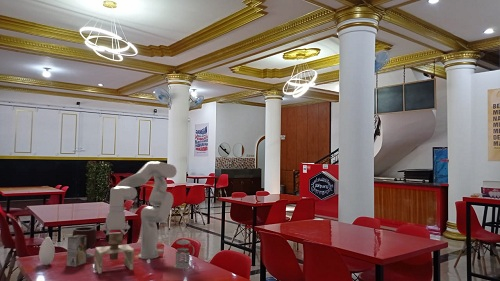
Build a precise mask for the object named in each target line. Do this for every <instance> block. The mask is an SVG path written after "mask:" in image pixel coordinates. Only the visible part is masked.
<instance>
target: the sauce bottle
mask: <svg viewBox="0 0 500 281" xmlns="http://www.w3.org/2000/svg"><path fill="white" fill-rule="evenodd" d="M55 254H56V250H55V245H54V242H53V240H52V239H51V237H50V236H49V233H47V237H45V239H44V240H43V241H42V243H41V245H40V247H39V252H38V258H39V261H40V263H41V264H43V265H44V266H48V265H50V263H53V260H54V257H55Z"/></svg>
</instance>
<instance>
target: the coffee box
mask: <svg viewBox="0 0 500 281" xmlns="http://www.w3.org/2000/svg"><path fill="white" fill-rule="evenodd" d="M86 248H87V235H75V236H72V235H71V236H68V237H67V250H66V253H67V254H66V267H78V266H80V265H83V264H86V263H87V258H86V252H87V250H86Z"/></svg>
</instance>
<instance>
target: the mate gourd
mask: <svg viewBox="0 0 500 281" xmlns="http://www.w3.org/2000/svg"><path fill="white" fill-rule="evenodd" d="M98 226H100V223H98V224H95V225H94V226H82V227H74V228H73V231H72V235H71V236H75V235H87V248H86V259H89V258H93V257H95V253H91V252H87V251H88V250H90V249H92V248H93V247H94V246H95V245H96V242H97V228H96V227H98Z"/></svg>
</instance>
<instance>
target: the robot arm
mask: <svg viewBox="0 0 500 281" xmlns="http://www.w3.org/2000/svg"><path fill="white" fill-rule="evenodd" d="M177 172H178V171H177V167H176V166H175V165H174V164H170V163H166V162H163V161H148V162H146V163H145V164H144V165H143V166H142V167H141V168H140V169H139V170H138V171H137V172H136V173H135V174H132V175H130V176H128V177H126V178H124V179H122V180H121V181H120V182H119V183H117V184H116V185H115V187H111V188H110V193H109V206H108V207H109V208H108V210H109V211H107V213H106V218H105V223H104V224H103V225H102V226H101V227H100V228H99V229H100V230H101V231H102V232H103V234H105V241H106V242H107V243H108V242H109V233H111V231H119V230H120V231H121V233H122V234H123V240H125V234H126V233H127V231H129V229H130V228H131V226H130V225H129V224H128V223H127V222H126V214H125V210H127V207H126V206H124V204H125V200H128V201H131V200H134V199H135V198H136V197H137V196H138V191H137V189H136V187H141V186H143V185H146V184H147V182H149V181H150V179H152V178H153V179H154V185H153V188H152V190H151V193H150V196H149V198H148V202H149V204H150V205H151V206H144V207H143V208H142V209H141V211H140V219H141V241H140V242H141V243H140V244H141V245H140V253H139V254H138V255H137V257H138V259H140V260H141V259H144V260H152V259H157V258H159V256H160V255H159V254H163V253H165V250H164V249H159V248H157V246H158V245H157V244H158V239H157V238H158V226H157V223H160V224H161V223H165V222H166V221H167V219H168V217H169V216H170V212H171V209H172V206H173V204H174V195H173V193H171V192H169V191H167V188H168V183H167V181H166V179H165V178H167V179H173V178H174V177H176V176H177ZM105 229H106V230H105Z"/></svg>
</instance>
